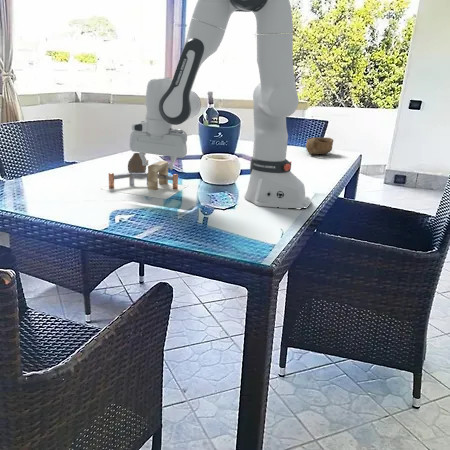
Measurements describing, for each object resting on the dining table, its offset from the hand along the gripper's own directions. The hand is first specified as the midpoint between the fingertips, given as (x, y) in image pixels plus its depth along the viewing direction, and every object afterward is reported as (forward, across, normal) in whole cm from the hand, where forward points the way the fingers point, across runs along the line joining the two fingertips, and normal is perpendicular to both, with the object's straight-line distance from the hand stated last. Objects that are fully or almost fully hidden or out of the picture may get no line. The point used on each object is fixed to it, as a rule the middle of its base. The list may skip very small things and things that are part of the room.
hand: (157, 167), depth 170 cm
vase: (+8, +14, -12) cm, 20 cm away
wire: (+7, +3, +5) cm, 9 cm away
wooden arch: (+7, 0, 0) cm, 7 cm away
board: (+8, +3, +3) cm, 9 cm away
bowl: (+7, -43, -100) cm, 109 cm away
